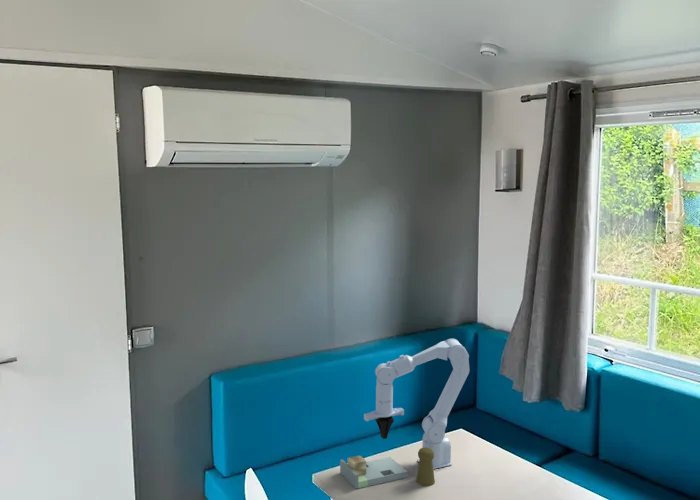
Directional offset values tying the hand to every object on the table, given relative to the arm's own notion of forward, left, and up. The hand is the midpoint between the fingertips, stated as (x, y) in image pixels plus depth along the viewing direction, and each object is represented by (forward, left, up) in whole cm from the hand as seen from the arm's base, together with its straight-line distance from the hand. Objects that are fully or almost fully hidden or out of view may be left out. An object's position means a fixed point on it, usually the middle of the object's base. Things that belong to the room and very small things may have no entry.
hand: (383, 437), depth 212 cm
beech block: (+13, +5, -8) cm, 16 cm away
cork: (-7, +16, -10) cm, 20 cm away
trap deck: (+6, +5, -10) cm, 13 cm away
